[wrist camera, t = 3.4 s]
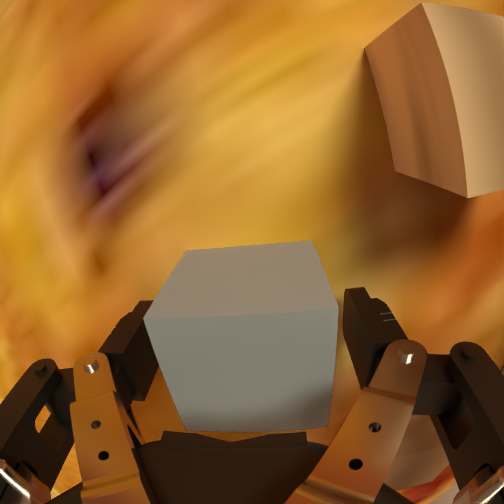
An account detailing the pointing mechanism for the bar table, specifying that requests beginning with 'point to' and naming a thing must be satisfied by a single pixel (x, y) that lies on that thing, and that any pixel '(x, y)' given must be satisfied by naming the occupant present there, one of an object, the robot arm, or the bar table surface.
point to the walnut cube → (417, 455)
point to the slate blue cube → (247, 338)
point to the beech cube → (444, 96)
